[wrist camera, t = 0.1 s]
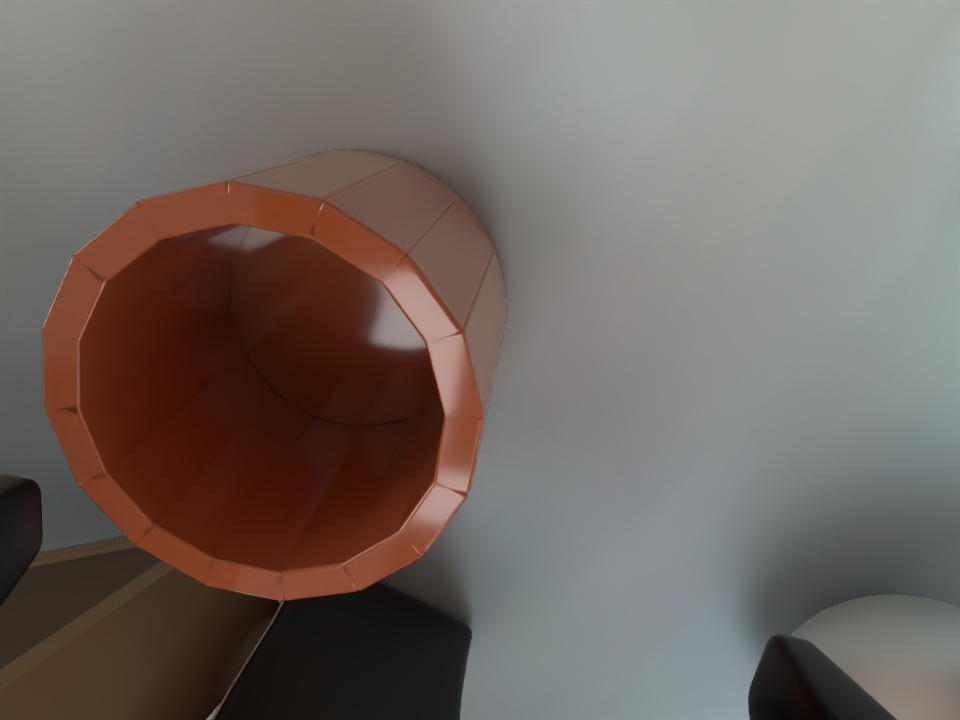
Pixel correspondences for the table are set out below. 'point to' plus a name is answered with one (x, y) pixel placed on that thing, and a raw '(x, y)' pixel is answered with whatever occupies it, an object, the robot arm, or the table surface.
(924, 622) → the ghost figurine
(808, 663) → the robot arm
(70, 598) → the photo frame
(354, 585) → the terracotta pot
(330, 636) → the battery charger
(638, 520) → the table surface
